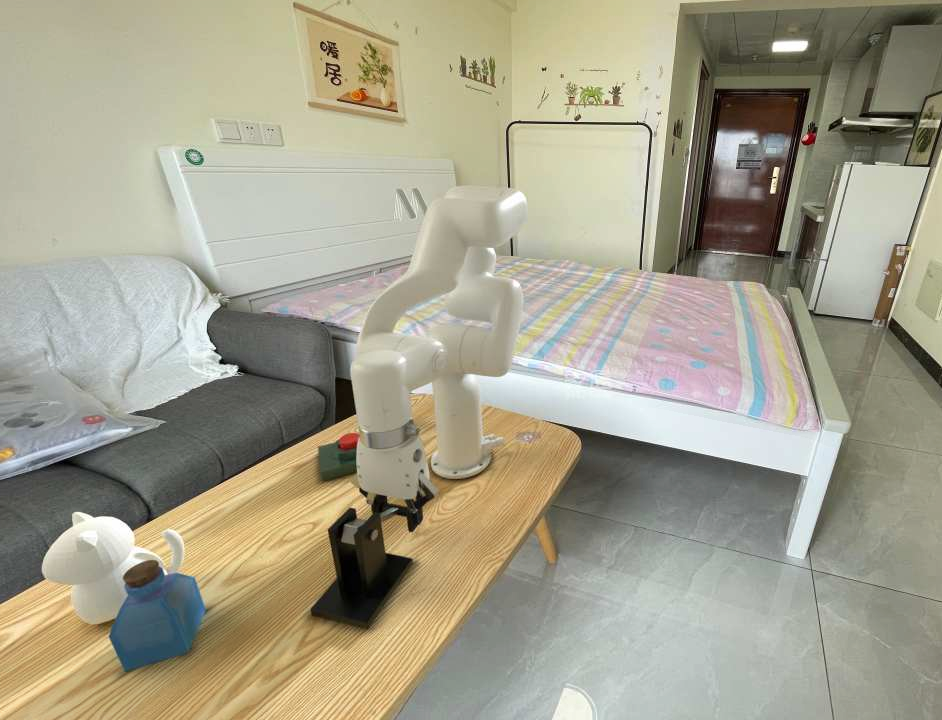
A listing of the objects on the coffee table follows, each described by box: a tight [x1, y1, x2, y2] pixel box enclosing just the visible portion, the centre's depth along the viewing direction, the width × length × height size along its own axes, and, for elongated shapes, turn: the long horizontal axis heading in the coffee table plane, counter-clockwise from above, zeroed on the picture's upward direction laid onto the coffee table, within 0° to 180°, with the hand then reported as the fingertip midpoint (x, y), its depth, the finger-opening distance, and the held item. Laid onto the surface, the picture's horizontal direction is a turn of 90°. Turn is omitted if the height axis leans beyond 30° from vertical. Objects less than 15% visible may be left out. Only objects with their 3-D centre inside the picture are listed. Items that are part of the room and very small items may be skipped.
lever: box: [341, 502, 409, 545], centre depth 67 cm, size 12×6×2 cm, turn 169°
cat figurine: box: [41, 511, 185, 625], centre depth 60 cm, size 9×12×15 cm
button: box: [338, 432, 360, 450], centre depth 92 cm, size 4×4×2 cm
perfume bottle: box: [108, 560, 207, 672], centre depth 55 cm, size 6×6×12 cm
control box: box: [317, 433, 360, 482], centre depth 93 cm, size 12×10×4 cm
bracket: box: [309, 507, 414, 630], centre depth 63 cm, size 11×9×13 cm
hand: (398, 521), depth 73 cm, fingers closed on lever, 5 cm apart
